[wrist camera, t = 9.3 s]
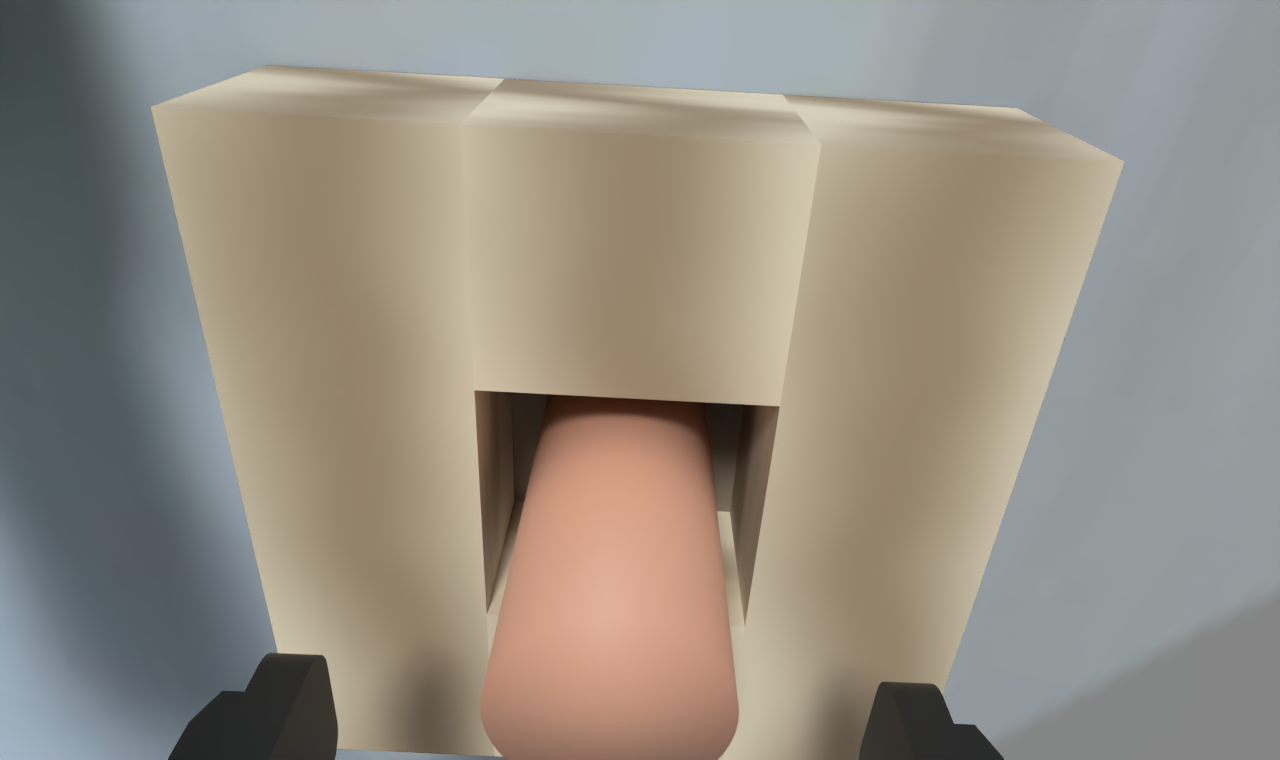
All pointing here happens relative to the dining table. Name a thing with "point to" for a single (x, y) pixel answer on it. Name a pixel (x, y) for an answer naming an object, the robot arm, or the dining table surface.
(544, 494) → the peg
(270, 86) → the socket
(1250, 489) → the dining table surface
